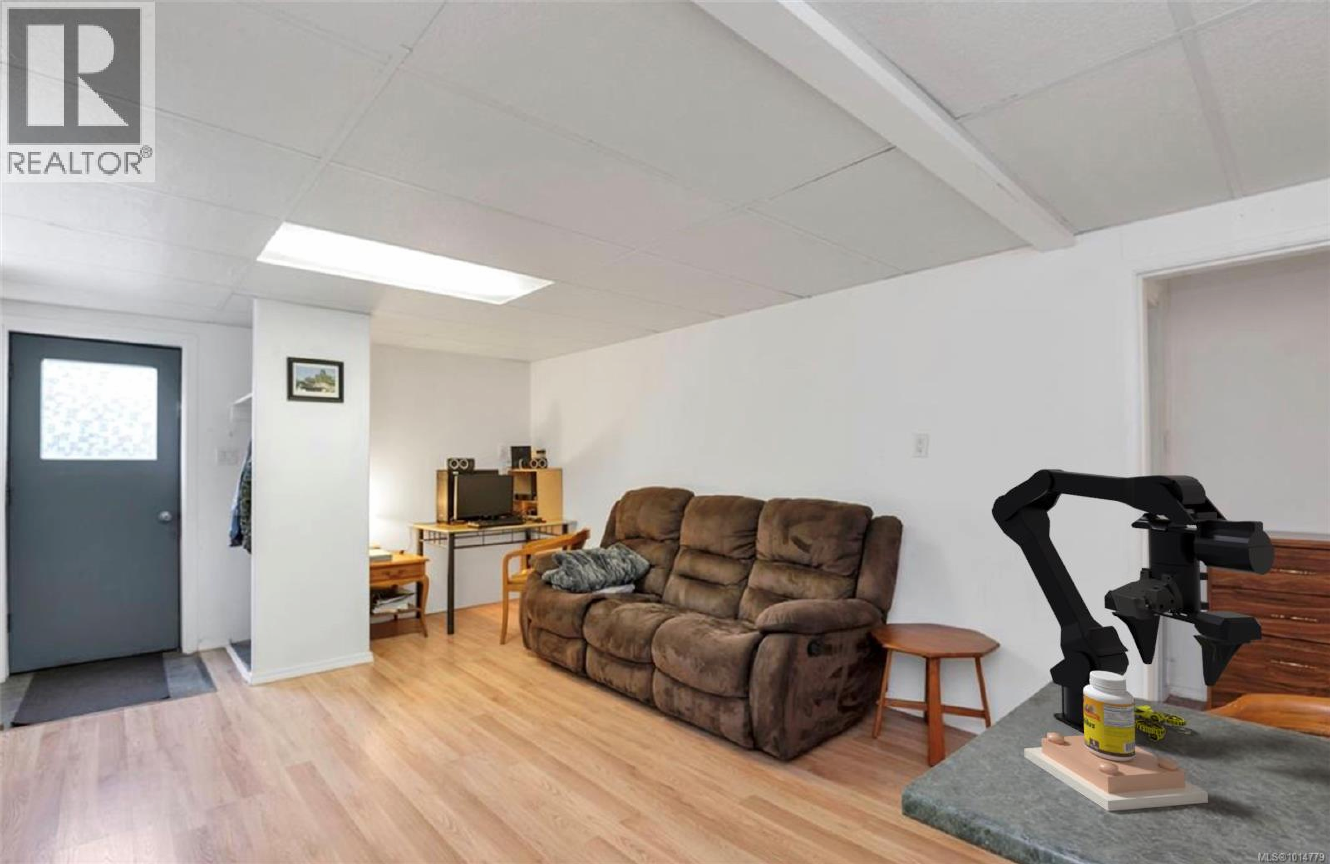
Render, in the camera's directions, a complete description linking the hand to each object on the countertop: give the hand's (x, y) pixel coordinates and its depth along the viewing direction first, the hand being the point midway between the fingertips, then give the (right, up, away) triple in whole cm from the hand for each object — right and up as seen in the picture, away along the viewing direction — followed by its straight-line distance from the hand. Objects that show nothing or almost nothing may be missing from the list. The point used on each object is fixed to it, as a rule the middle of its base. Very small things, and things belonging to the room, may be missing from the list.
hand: (1177, 674), depth 90 cm
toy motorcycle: (+3, -13, +10) cm, 16 cm away
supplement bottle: (-13, -9, -6) cm, 17 cm away
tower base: (-13, -12, -6) cm, 19 cm away
